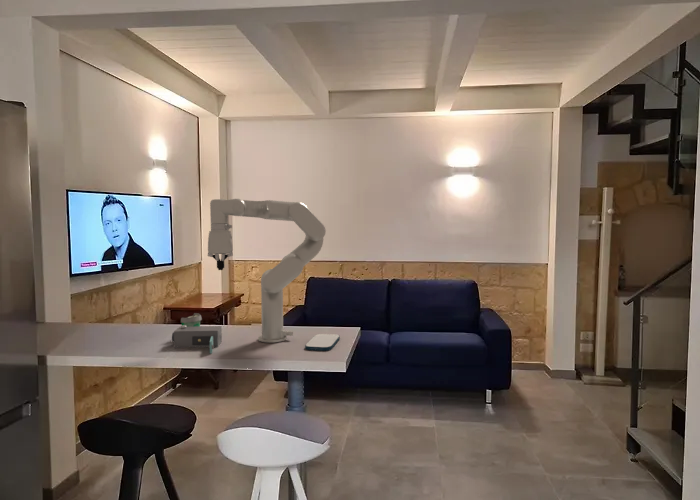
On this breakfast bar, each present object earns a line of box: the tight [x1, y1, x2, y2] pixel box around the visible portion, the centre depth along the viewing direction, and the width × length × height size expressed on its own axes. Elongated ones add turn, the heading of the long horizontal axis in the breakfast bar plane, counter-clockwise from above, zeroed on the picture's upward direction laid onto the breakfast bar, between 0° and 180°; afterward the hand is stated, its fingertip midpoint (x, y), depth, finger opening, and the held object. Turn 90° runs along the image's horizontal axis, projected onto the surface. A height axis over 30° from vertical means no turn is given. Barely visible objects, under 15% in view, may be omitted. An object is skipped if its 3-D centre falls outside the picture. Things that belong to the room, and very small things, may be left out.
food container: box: [180, 312, 203, 327], centre depth 229 cm, size 12×6×10 cm, turn 168°
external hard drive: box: [304, 333, 341, 352], centre depth 218 cm, size 24×12×2 cm, turn 170°
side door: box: [209, 336, 215, 354], centre depth 206 cm, size 10×2×5 cm, turn 12°
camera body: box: [171, 324, 223, 349], centre depth 215 cm, size 20×10×8 cm, turn 94°
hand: (220, 269), depth 219 cm, fingers closed
